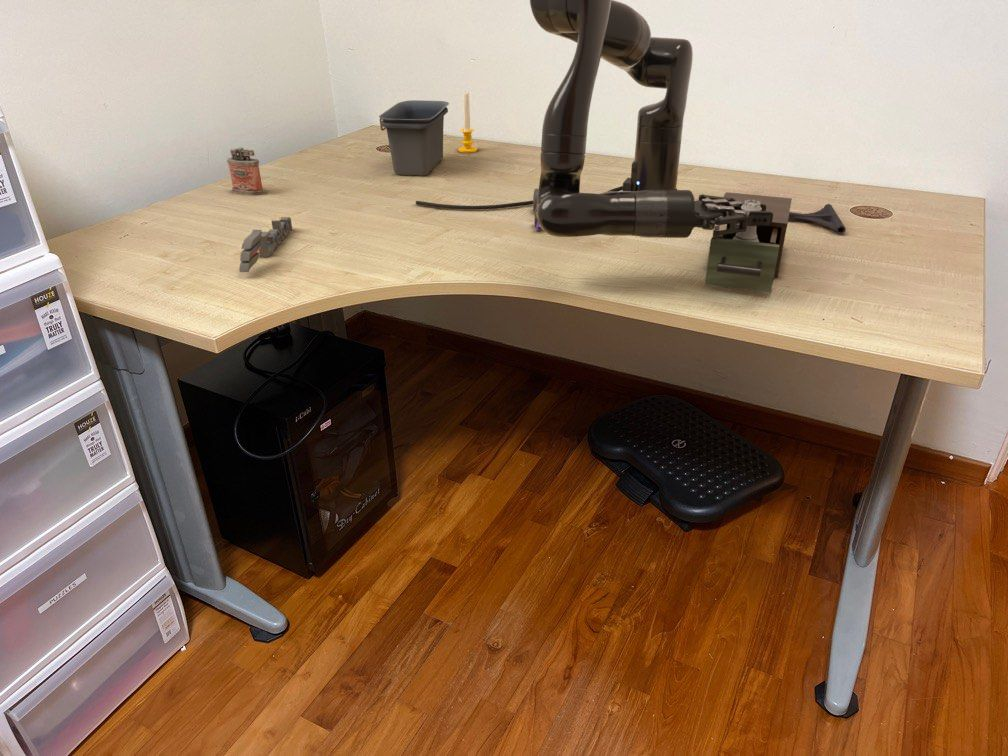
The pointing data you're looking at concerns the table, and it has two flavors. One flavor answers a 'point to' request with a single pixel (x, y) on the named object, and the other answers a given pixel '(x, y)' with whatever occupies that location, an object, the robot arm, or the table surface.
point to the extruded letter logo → (263, 242)
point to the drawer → (743, 261)
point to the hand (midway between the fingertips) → (767, 214)
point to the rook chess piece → (751, 230)
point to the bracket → (820, 218)
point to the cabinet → (780, 216)
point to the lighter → (245, 172)
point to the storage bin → (415, 135)
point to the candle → (467, 127)
